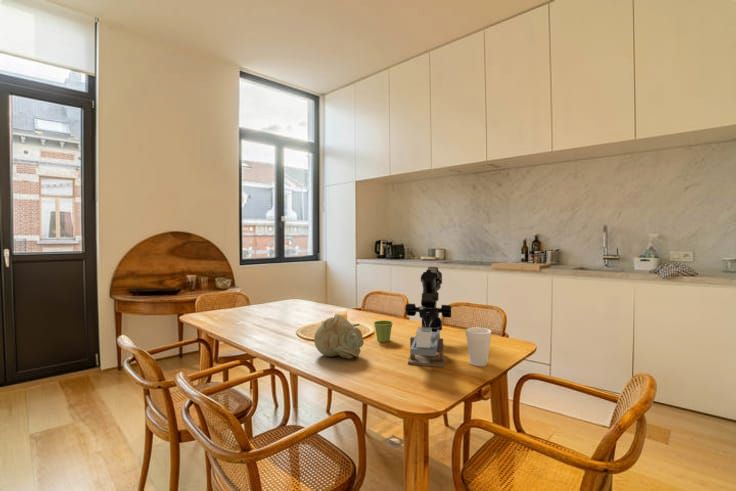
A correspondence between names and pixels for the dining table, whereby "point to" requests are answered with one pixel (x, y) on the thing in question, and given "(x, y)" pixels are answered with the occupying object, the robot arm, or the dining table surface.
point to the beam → (427, 352)
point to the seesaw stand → (426, 359)
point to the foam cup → (478, 345)
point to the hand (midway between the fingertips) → (427, 328)
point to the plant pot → (383, 330)
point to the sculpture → (338, 338)
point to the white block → (424, 338)
